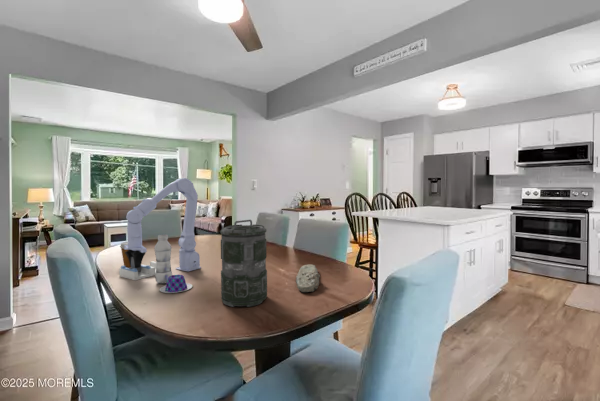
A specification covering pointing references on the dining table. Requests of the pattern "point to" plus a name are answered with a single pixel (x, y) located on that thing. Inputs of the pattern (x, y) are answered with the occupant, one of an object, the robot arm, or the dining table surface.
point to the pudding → (175, 284)
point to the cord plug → (134, 265)
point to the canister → (243, 265)
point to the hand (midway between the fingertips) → (135, 266)
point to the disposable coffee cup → (125, 258)
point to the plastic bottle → (163, 259)
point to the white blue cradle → (134, 275)
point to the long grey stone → (307, 278)
